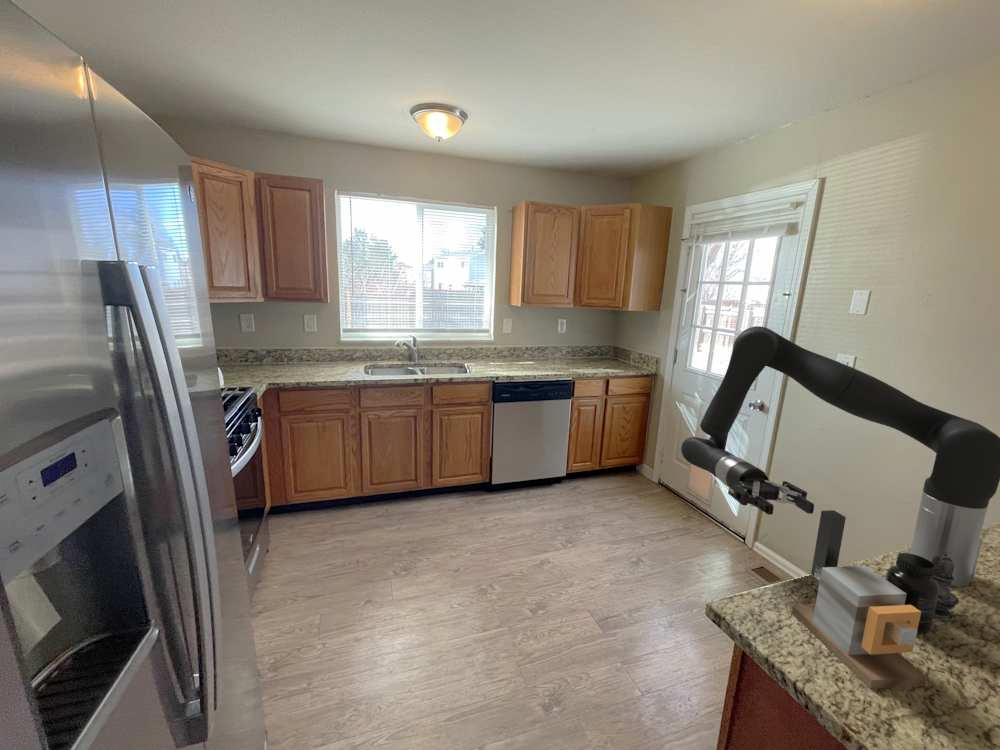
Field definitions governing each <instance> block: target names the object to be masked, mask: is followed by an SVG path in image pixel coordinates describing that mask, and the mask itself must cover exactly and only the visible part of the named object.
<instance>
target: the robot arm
mask: <svg viewBox="0 0 1000 750" xmlns="http://www.w3.org/2000/svg"><path fill="white" fill-rule="evenodd" d="M727 366H728V367H727V368H726V372H725V373H724V376H723V379H722V381H721V383H720V385H719V387H718V389H717V391H715V392H716V393H715V394H714V396H713V397H712V400H711V401H710V402H709V405H708V407H707V409H706V411H705V413H704V415H703V417H702V419H701V422H700V424H699V425H700V426H699V427H700V429H701V431H702V432H703V433H705V434H706V435H708V436H710V437H709V439H708V438H703V437H698V436H689V437H687V438H686V439H684V440H683V442H682V443H681V447H680V450H681V455H682V457H683V458H684V460H686V462H688V463H690V464H691V465H694V466H695V467H697V468H699V469H702V470H703V471H706V472H708V473H711V475H713V476H714V477H715V478H717V479H718V480H719V481H721V483H723V484H724V485H725V486H726V487H727V488H728V490H727V491H728V493H727V494H728V495H729V496H730V497H732V498H733V499H734V500H735V501H736V502H737V503H739V504H740V505H742V506H747V505H750V506H752V507H754V508H757V509H759V510H760V511H761V512H763V513H765V514H766V515H769V516H770V515H771V516H772V515H773V514H774V507H775V506H774V505H773V504H772V503H771V502H770V501H774V502H778V503H781V504H786V503H787V504H791V505H793V506H794V505H795V506H796V507H797V508H799V509H800V510H802V511H804V512H805V513H807V514H809V515H810V514H813V513H814V510H815V509H814V508H815V504H814V502H812V501H810V500H808V499H807V497H808V492H807V491H806V490H803V489H802V488H800V487H798V486H797V485H794V484H792V483H790V482H788V481H786V480H785V481H782V484H778V483H775V482H774V481H772V480H769V477H768V475H767V474H766V473H765V471H764V470H762V469H760V468H759V467H757V466H755V465H754V464H752V463H750V462H748V461H746V460H745V459H743V458H741V457H738V456H736V455H735V454H733V453H731V452H729V451H727V450H726V447H727V441H728V436H729V432H730V431H731V429H732V427H733V425H734V423H735V421H736V419H737V418H738V415H739V414H740V411H741V408H742V406H743V404H744V401H745V399H746V398H747V397H746V396H747V394H748V392H749V391H750V388H751V387H752V385H753V384H754V382H755V381H756V379H757V378H758V376H759V375H761V372H762V371H763V370H764V369H765V368H766V367H768V368H770V369H773V370H775V371H778V372H780V373H782V374H784V375H786V376H788V377H789V378H791V379H792V380H794V381H795V382H797V383H798V384H800V385H801V386H802V387H803V388H805V389H806V390H807V391H808V392H810V393H811V394H813V395H814V396H816V397H818V399H821V400H822V401H824V402H825V403H827V404H830V405H831V406H834V407H835V408H838V409H840V410H842V411H844V412H846V413H848V414H849V415H853V416H855V417H858V418H861V419H863V420H866V421H870V422H872V423H876V424H879V425H882V426H886V427H889V428H891V429H893V430H896V431H899V432H901V433H902V434H904V435H906V436H908V437H910V438H912V439H914V440H915V441H917V442H919V443H920V444H922V445H923V446H925V447H927V448H928V449H930V450H931V451H933V452H934V453H935V459H934V463H933V467H932V471H931V475H930V476H929V477H927V478H925V480H924V482H923V483H924V484H923V488H922V493H921V498H920V502H919V503H920V504H919V507H918V513H917V516H916V517H917V519H916V522H915V527H914V532H913V537H912V541H911V547H910V551H909V553H910V554H914V555H917V556H920V557H923V558H925V559H927V560H929V561H931V562H932V559H933V556H935V555H943V554H942V553H944V552H946V553H947V557H949V558H950V559H952V560H953V561H954V563H955V566H954V570H953V574H952V576H953V577H954V579H955V580H954V581H952V582H951V586H950V587H961V588H962V587H963V588H964V587H967V586H968V585H970V582H973V581H974V578H975V574H976V569H977V566H978V561H979V559H980V558H979V557H980V553H981V549H982V545H983V539H982V538H981V535H982V533H983V527H984V523H985V518H986V515H987V510H988V506H989V503H990V500H991V499H992V498H993V497H994V496H995V494H997V490H998V488H999V487H998V486H999V484H1000V436H998V435H997V434H996V433H994V432H993V431H992V430H990V429H988V428H987V427H985V426H984V425H981V424H980V423H978V422H976V421H973V420H970V419H966V418H964V417H960V416H958V415H954V414H951V413H949V412H947V411H943V410H941V409H938V408H935V407H932V406H930V405H927V404H925V403H923V402H921V401H919V400H916V399H914V398H913V397H911V396H909V395H908V394H906V393H904V392H903V391H901V390H899V389H897V388H895V387H894V386H892V385H890V384H888V383H887V382H884V381H882V380H880V379H878V378H877V377H874V376H872V375H871V374H868V373H866V372H863V371H861V370H859V369H857V368H855V367H853V366H849V365H847V364H844V363H842V362H840V361H837V360H834V359H831V358H829V357H827V356H824V355H821V354H819V353H816V352H813V351H810V350H808V349H806V348H804V347H802V346H800V345H798V344H796V343H795V342H793V341H790V339H787V338H785V337H784V336H783V335H780V334H779V333H778V332H776V331H773V330H772V329H770V328H768V327H765V326H761V325H760V326H751V327H748V328H746V329H744V330H743V331H742V332H740V334H739V335H737V337H736V338H735V340H734V342H733V347H732V352H731V356H730V358H729V363H728V365H727ZM780 492H781V493H782V498H781V497H780Z"/></svg>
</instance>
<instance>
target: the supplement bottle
mask: <svg viewBox="0 0 1000 750" xmlns="http://www.w3.org/2000/svg"><path fill="white" fill-rule="evenodd" d="M934 570H935V565H934V564H933V563H932V562H931V561H929V560H927V559H925V558H923V557H920V556H917V555H914V554H910V552H901V553H899V554H898V555H897V558H896V561H895V565H892V566H890V567H889V568H888V569H887V570H886V576H885V579H886V580H887V581H889V582H890V583H892V584H893V585H894V586H896V587H897V588H899V589H900V590H902V591H903V592H905V593H906V594H907V595H906V600H905V604H904V605H912V606H914V607H915V608H916V609H918V610H919V611H921V616H920V620H919V625H918V629H917V630H918V631H917V634H918V633H919V634H924V633H929V632H931V631H932V628H933V624H934V621H935V618H934V615H935V610H936V605H937V600H938V595H939V589H940V587H939V584H938V583H937V581H936V580H935V579H934V578H933V577H934Z"/></svg>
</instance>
